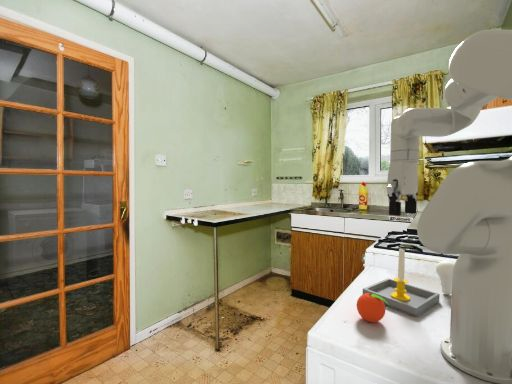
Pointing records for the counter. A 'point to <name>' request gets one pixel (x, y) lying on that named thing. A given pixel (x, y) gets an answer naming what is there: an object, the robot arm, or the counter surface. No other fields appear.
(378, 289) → the tray
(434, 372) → the counter surface
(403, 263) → the candle
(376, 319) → the clementine
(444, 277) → the lightbulb
